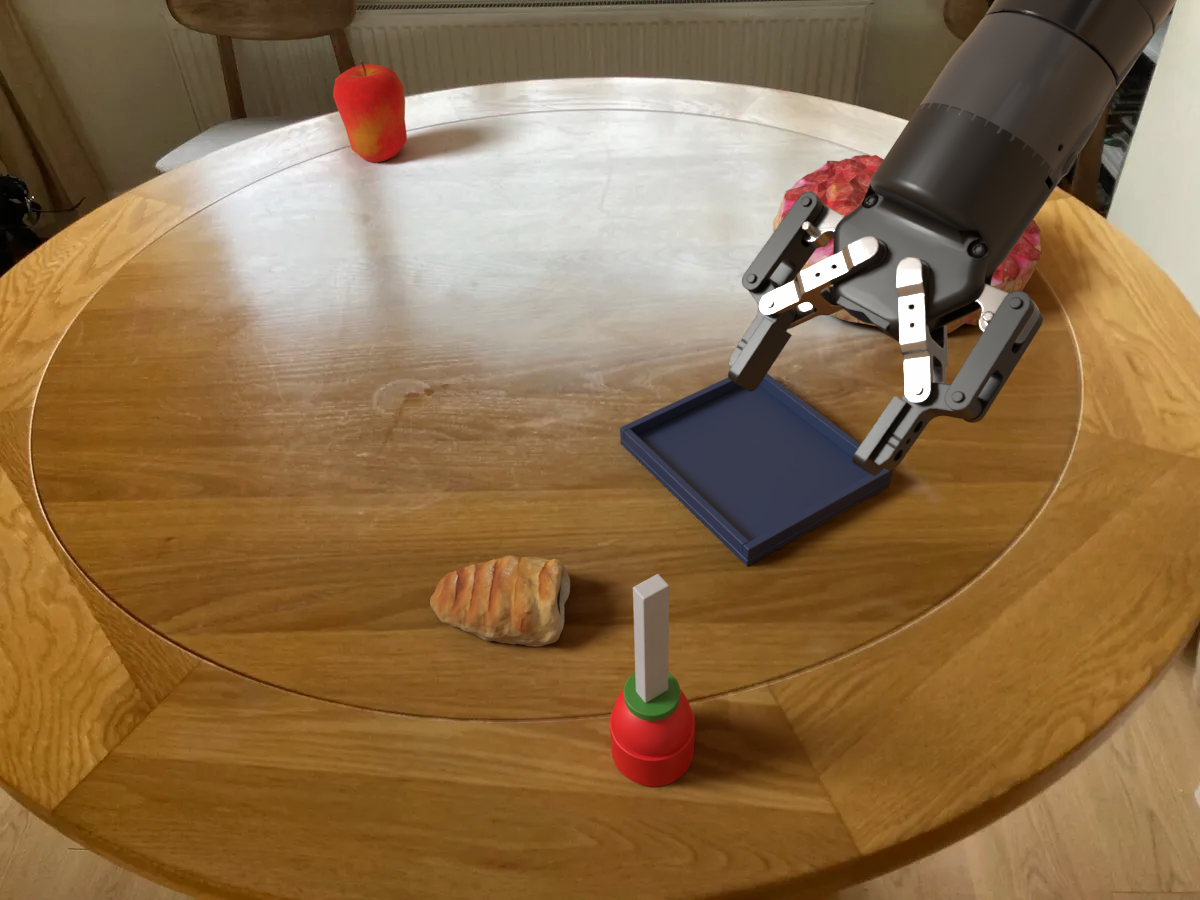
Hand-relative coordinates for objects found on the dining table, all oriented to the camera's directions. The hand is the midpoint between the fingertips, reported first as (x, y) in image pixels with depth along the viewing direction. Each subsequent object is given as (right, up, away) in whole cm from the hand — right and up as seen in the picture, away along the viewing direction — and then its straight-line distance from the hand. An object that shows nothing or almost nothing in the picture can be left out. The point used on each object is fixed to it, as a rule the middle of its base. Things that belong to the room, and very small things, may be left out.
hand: (798, 425), depth 49 cm
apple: (-38, +36, +72) cm, 89 cm away
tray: (+2, -2, +28) cm, 28 cm away
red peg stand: (-7, -19, +10) cm, 23 cm away
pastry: (-16, -13, +18) cm, 27 cm away
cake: (+19, +17, +48) cm, 55 cm away
